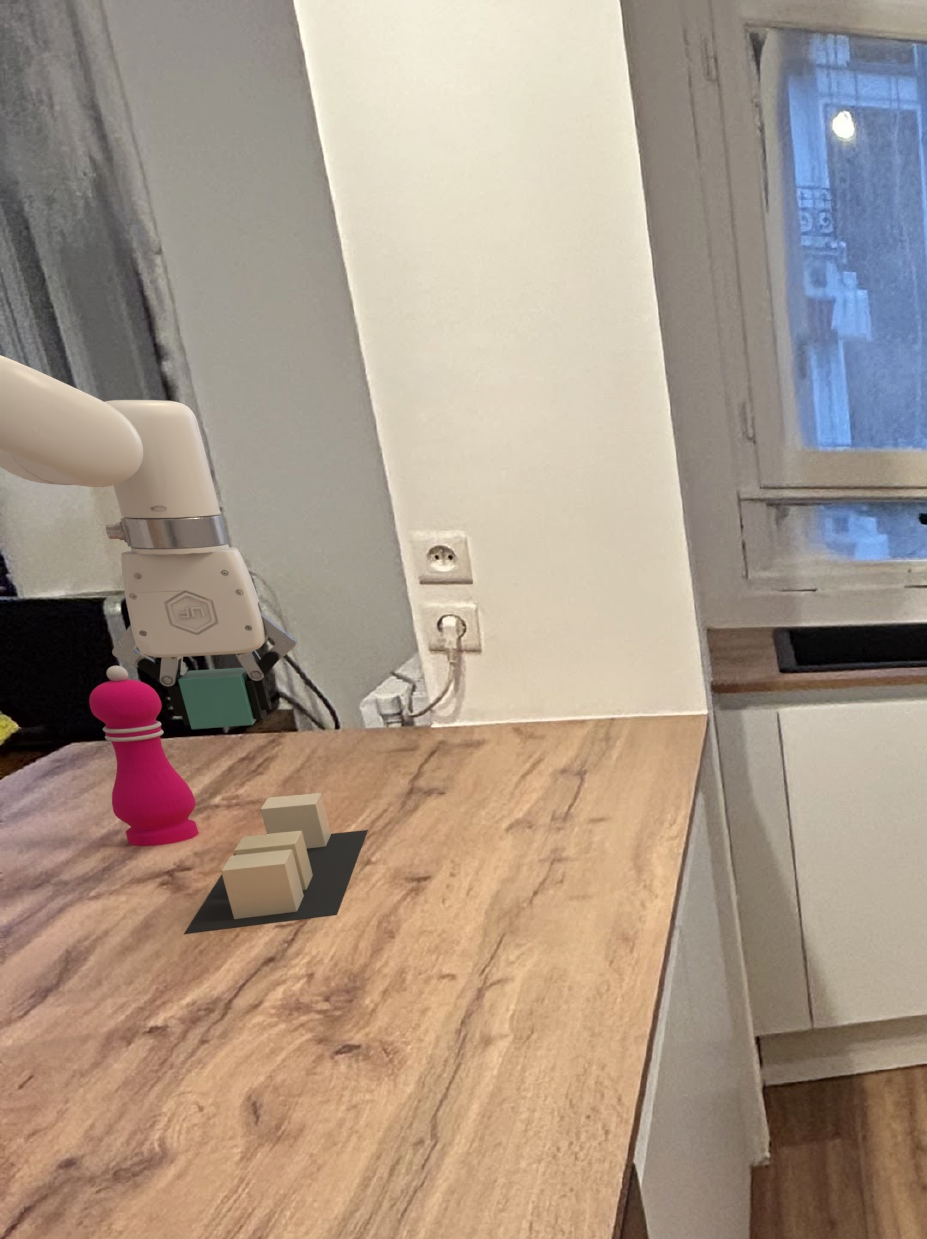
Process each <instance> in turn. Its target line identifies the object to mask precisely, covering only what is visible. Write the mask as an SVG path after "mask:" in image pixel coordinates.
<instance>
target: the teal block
mask: <svg viewBox="0 0 927 1239" xmlns="http://www.w3.org/2000/svg"><path fill="white" fill-rule="evenodd" d="M246 674H247V673H246V671H245V669H244V668H243V667H232V668H216V669H199V670H188V671H187V672H185V674H182V677H181V678H180V679H179V680H178V681H179V685H180V689H181V692H182V696H183V700H184V703H185V707H186V711H187V714H188V718H189V721H190V725H189V726H190V728H191V730H202V729H216V728H230V727H242V726H253V725H254V724H255V723H256V721H257V720H256V719H254V718H253V714H252V710H251V706H250V702H249V699H248V695H247V691H246V687H245V682H246V681H247V677H246Z"/></svg>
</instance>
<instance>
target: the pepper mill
mask: <svg viewBox="0 0 927 1239" xmlns="http://www.w3.org/2000/svg"><path fill="white" fill-rule="evenodd" d="M106 676H107V678H108V679H109V681H106V682H102V683H101V684H99V685H97V686H96V687H94V689H93V690H92V691H91V693H90V694H89V701H88V704H89V709H90V711H91V714H93V716H94V717H95V718H97V719H98V720H99V721H101V722H103V723H104V724H105V725H104V727H103V728H102V731H103V732H104V735H105V736H104V738H105V740H106V741H110V742H111V744H112V747H113V750H114V754H115V760H116V774H115V779H114V783H113V787H112V791H111V806H112V812H113V814H114V816H115V817H116V818H117V819H118V820H120V821H122V822H123V823H125V824H127V825H128V826H130V827H129V828H127V829H126V831H125V835H126V839H127V842H128V845H131V846H135V847H154V846H155V847H156V846H163V845H171V844H175V843H180V842H185V841H187V840H190V839H193V838H195V837H196V836H197V837H198V835H199V830H198V826H197V822H196V821H195V820H193V819H189V817H190V815H191V814H192V812H193V811H194V810H195V808H196V805H197V803H196V798H195V795H194V793H193V791H192V790H191V788H190V787H189V785H188V783H187V782H186V781H185V780H184V779H183V778H182V776H181V775H180V774H179V773H178V772H177V771H176V769H175V768H174V767H173V766H172V764H171V763H170V761H169V759H168V757H167V756H166V753H165V751H164V748H163V745H162V740H161V739H162V738H161V736H162V735H163V734H164V730H163V729H162V723H161V721H160V720H159V721H158V720H157V718H158V716H159V714H160V713H161V710H162V706H163V704H162V701H161V698H160V696H159V694H158V692H157V691H156V689H154V688H153V687H151V685H150V684H147V683H145V682H143V681H140V680H136V679H130V678H129V673H128V670H127V669H126V668H124V667H123V666H121V665H112V666H110V667H108V668H107V670H106ZM128 678H129V679H128Z"/></svg>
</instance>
